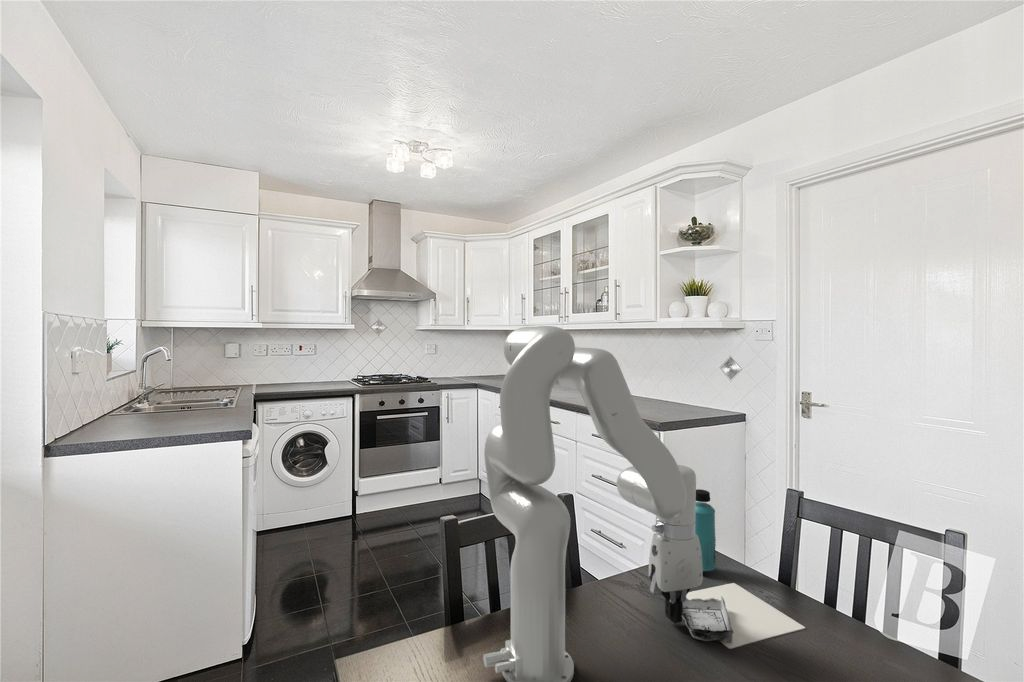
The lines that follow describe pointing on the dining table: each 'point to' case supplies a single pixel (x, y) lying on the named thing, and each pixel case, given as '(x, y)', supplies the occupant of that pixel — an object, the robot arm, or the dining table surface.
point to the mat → (748, 615)
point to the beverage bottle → (705, 529)
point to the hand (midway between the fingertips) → (673, 619)
